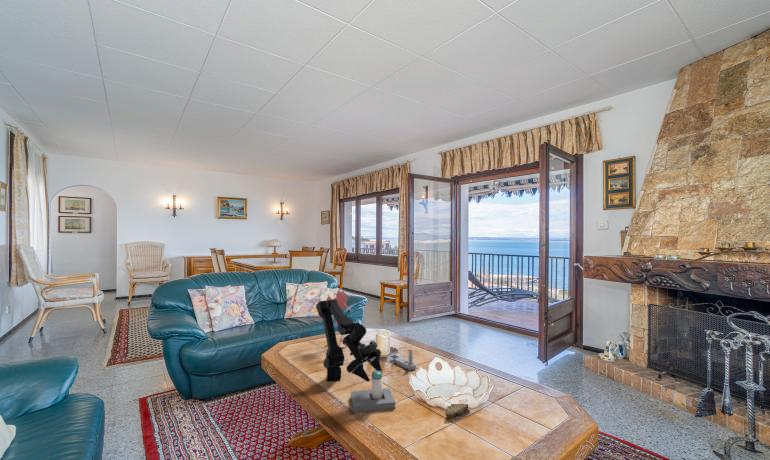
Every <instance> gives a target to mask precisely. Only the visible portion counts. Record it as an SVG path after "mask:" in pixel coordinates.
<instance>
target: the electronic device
mask: <svg viewBox="0 0 770 460" xmlns="http://www.w3.org/2000/svg"><path fill="white" fill-rule="evenodd" d="M394 361H395V362H396V363H395V365H398V366H400V367H402V368H404V369H406V370H407V371H408V370H409V371H413V370H416V368H417V364H416V363H415V362H414V361H413V349H409V350H408V359H407V358H405V357H401V356H399V357H396V358H395V359H394Z"/></svg>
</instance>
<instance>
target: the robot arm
mask: <svg viewBox="0 0 770 460" xmlns="http://www.w3.org/2000/svg"><path fill="white" fill-rule="evenodd" d="M341 308H342V307H341ZM341 308H340V306H339V305H338V302H337V300H335V299H334V298H332V300H327V299H326V300H319V301H318V302H317V303H316V305H315V309H316V311H317V314H318V315H319V316H320V318H321V319H322V323H323V327H324V328H323V329H324V334H325V339H326V344H327V349H326V352H325V358H324V360H323V362H322V364H323V367H324V368H325V369H326V382H335V381H336V382H338V381H341V378H342V368H341V366H344V362H345V355H344V351H343V350H344V349H343V347H342V346H340V345H339V343H338V340H337V336H336V335H337V334H336V331H335V330H336V329H335V324H334V321H333V318H334V319H335V322H336V321H337V323H338V325H337V327H336V328H337V330H338V333H339V334H340V335H342V336H344V337H342V340H343V343H342V344H343V345H344V344H345V343H346V345H347V348H348V350H349V351H350V353H349V356H353V357H354V359H353V360H352V361H351V362H349V364H347V365H346V371H347V372H348V374H350V373H351V375H354V376H355V375H356V376H357V377H359V378H360V379H362V380H364V381H366V382H367V383H369V382H370V381H371V380H370V378H369V376H368V374H367V372H366V370H365V369H364V364H365V363H366V362H369V364H370V366H371V367H372V368H373V369H374V370H375V371H381V372H382V373H383V370H382V367H381V366H382V365H381V362H380V357H382V356H381V354H382V352H381V349H378V344H377V343H378V342H376V341H375V340H372V341H370V342H369V344H368V345H366V344H365V343H361V341H362V339H363V338H364V337H365V336H366V334H367V328H366V327H365V326H364V325H363V324H361V323H360V322H359V321H357V322H355V321H354V320H353V319H352V318H350V317H348V316H347V315H346V314H345V313H344V311H343V309H341ZM333 324H334V325H333ZM345 335H346V336H345Z"/></svg>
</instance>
